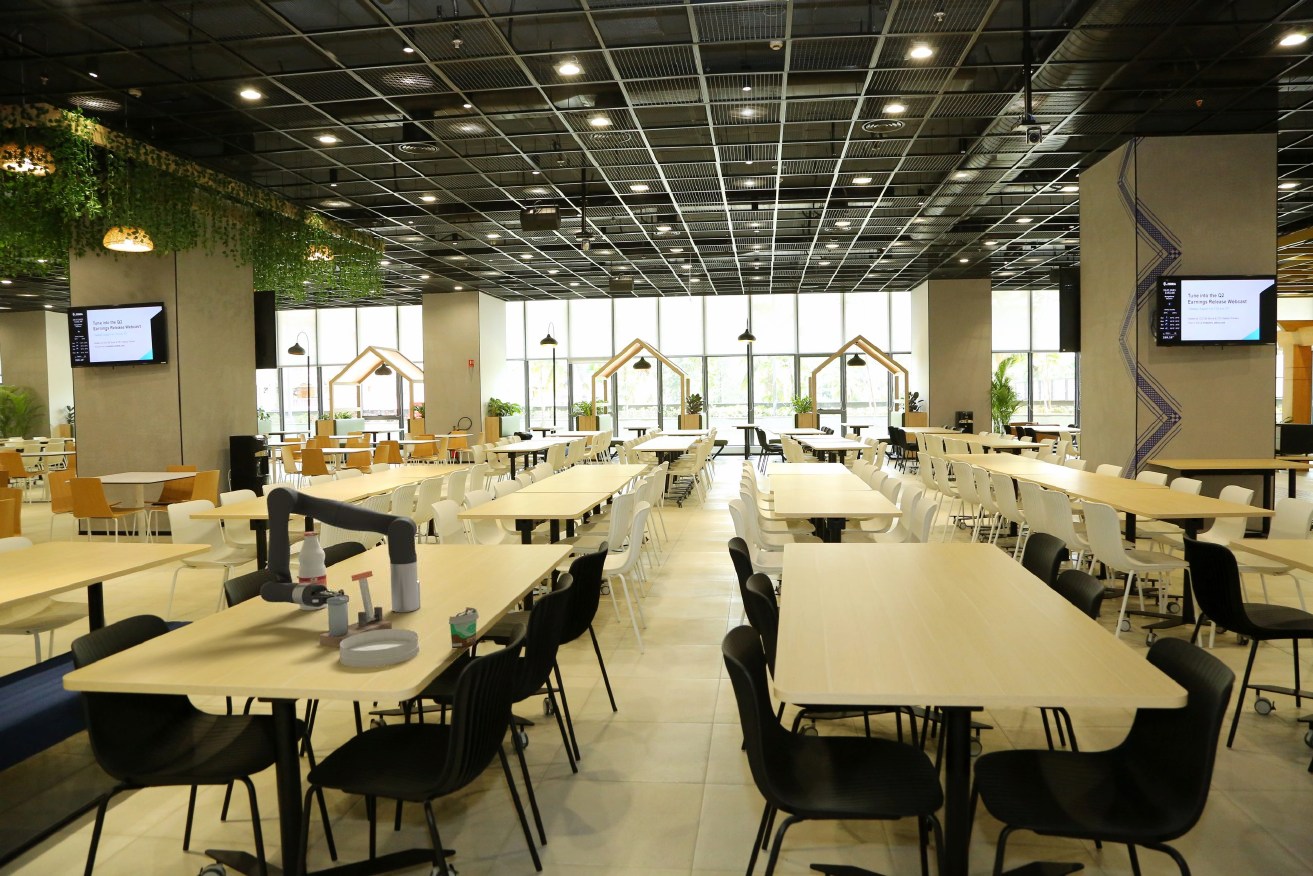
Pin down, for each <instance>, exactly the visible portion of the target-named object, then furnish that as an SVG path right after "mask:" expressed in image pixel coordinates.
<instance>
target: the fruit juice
mask: <svg viewBox="0 0 1313 876" xmlns="http://www.w3.org/2000/svg"><path fill="white" fill-rule="evenodd" d="M318 536H319V532H318V531H306V532H303V538H304V540H303V544H302V546H301V548H300V552H298V553H299V554H298V557H297V559H298V563H299V568H298V583H311V584H320V585H324V586H325V587H326V588H327V589H328V584H327V581H328V580H327V579H328V578H327V568H326V565H325V558H326V553H325V551H324V549H323V548H322V545H321V544H320V541H319V539H318ZM299 607H300V610H301V609H302V611H316V609H318V610H321V608H322V609H325V608H327V607H328V604H324V605H322V606H320V607H312V606H304V605H300V604H299Z"/></svg>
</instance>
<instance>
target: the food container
mask: <svg viewBox="0 0 1313 876" xmlns="http://www.w3.org/2000/svg"><path fill="white" fill-rule="evenodd" d="M479 615H480V614H479V613H478V609H476V608H475V607H465V610H464V611H462V612H459V613H457V614H456V615H455V616H449V619H448V625H449V627H450V628H449V629H450V638H451V649H452V648H457V649H456V650H461V649H466V648H471V647H473V646H475V645H476V642H477V641H476V640H477V623H478V622H477V621H478V619H479V617H480V616H479Z"/></svg>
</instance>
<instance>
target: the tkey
mask: <svg viewBox="0 0 1313 876" xmlns="http://www.w3.org/2000/svg"><path fill="white" fill-rule="evenodd" d="M350 576H351V581H352V582H356V581H358V584H359V588H360V594H361V599H362V600H361V601H362V605H363V611H364V612H366V616H367V624H369V623H372V622H375V621H378V619H379V617H378V615H374V608H373V603H372V597H371V593H370V588H369V582H368V578H370V577H373V576H374V575H373V571H372V570H369V571H365V572H361V573H360V572H359V573H357V574H352V575H350Z"/></svg>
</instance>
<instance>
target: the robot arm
mask: <svg viewBox="0 0 1313 876" xmlns="http://www.w3.org/2000/svg"><path fill="white" fill-rule="evenodd" d="M266 508H267V509H266V510H267V516H268V552H267V553H268V554H267V564H266V565H267V567H266V568H267V572H268V573H270V574H273V575H275V576H276V579H277V580H270V581H267V582H265V583H263V584H262V585H261V586H260V590H259V595H260V597H261V599H262V600H263V601H265V602H268V603H290V604H295V605H299V606H300V605H304V606H312V607H320V606H322V605H324V604H327V599H329V598H332V597H339V596H345V597H348V602H347V603H349V601H350V596H349V595H347V594H345V591H344V589H339V590H332V589H328V587H327V588H326V587H325V586H324V585H320V584H311V583H299V582H293V578H292V573H291V570H290V569H291V568H290V562H291V543H290V536H289V521H290V520H289V519H290V516H291V514H293V515H297V516H298V515H299V516H303V517H304V516H305V517H308V518H312V519H313V520H316V521H319V522H321V523H323V524H326V525H329V526H331V527H335V528H338V529H339V528H340V529H342V530H348V531H355V532H367V533H368V532H369V533H378V534H380V535H383V536H387V546H388V547H387V549H388V557H389V564H390V565H389V566H390V569H389V571H390V590H391V591H390V593H391V594H390V595H391V611H392V612H393V611H395V613H407V612H408V613H410V612H413V611H416V610H418V609H419V608H421V606H422V605H421V586H420V584H421V582H420V580H418V579H419V578H418V561H417V560H418V557H417V551H416V539H415V538H416V537H415V536H416V535H417V533H418V526H417V524H416V522H415V520H413V519H412V518H411V517H408V516H401V515H395V514H388V513H382V512H378V511H376V510H372V509H370V508H366V507H365V506H364V507H363V506H361V505H357V504H355V503H349V502H345V501H341V500H336V499H330V498H324V497H317V496H312V495H310V494H307V493H304V492H301V491H298V490H295V489H293V488H291V487H285V486H281V487H275V488H273V489H272V490H270V492H269V493H268V494H267V496H266ZM327 605H328V604H327Z"/></svg>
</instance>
